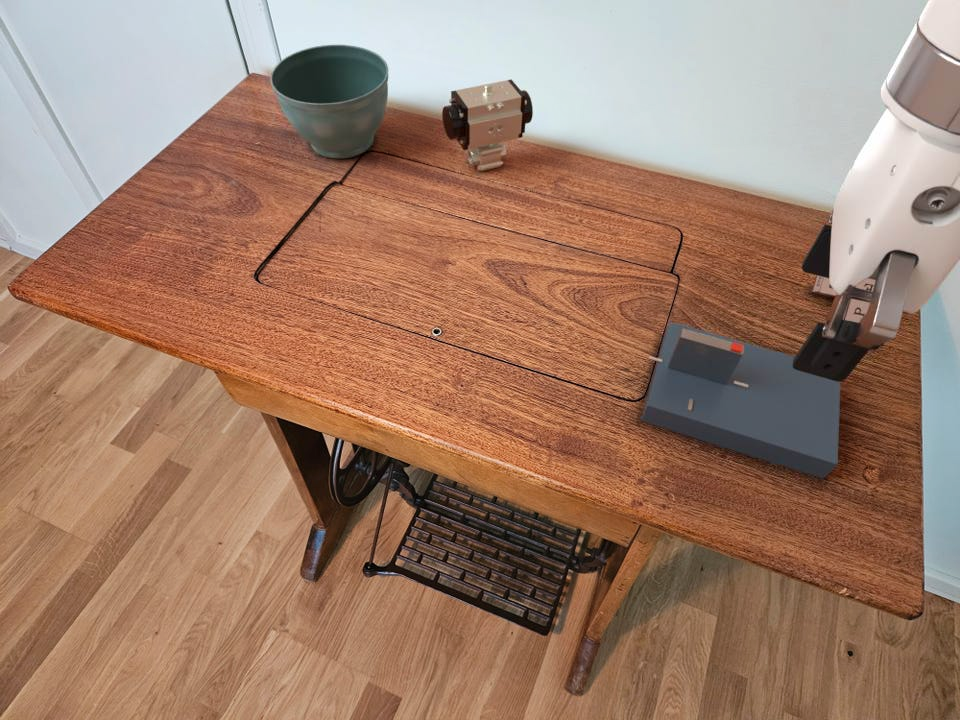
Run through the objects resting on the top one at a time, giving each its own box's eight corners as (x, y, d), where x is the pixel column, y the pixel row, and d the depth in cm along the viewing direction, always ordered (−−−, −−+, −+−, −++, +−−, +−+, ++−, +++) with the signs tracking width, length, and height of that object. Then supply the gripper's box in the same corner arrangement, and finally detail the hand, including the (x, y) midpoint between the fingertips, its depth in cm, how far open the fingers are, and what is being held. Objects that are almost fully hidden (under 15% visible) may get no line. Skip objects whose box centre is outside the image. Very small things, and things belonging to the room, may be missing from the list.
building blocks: (851, 323, 75) (871, 258, 74) (869, 325, 70) (891, 255, 69) (805, 313, 76) (824, 249, 75) (819, 315, 71) (840, 245, 70)
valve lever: (667, 367, 64) (681, 335, 60) (669, 359, 65) (683, 326, 61) (726, 385, 63) (743, 353, 59) (727, 376, 64) (745, 344, 60)
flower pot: (327, 188, 87) (312, 117, 79) (267, 139, 94) (247, 68, 86) (417, 144, 94) (411, 75, 85) (355, 102, 101) (344, 33, 93)
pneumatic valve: (443, 163, 91) (440, 84, 82) (516, 147, 94) (521, 69, 84) (456, 185, 88) (455, 106, 78) (531, 167, 91) (538, 89, 81)
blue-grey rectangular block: (828, 385, 67) (842, 368, 65) (823, 479, 60) (838, 463, 58) (653, 335, 71) (660, 317, 69) (630, 417, 64) (636, 400, 62)
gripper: (1112, 207, 24) (878, 437, 37) (1040, 19, 34) (876, 254, 47) (900, 163, 25) (750, 399, 39) (891, -4, 35) (774, 230, 49)
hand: (819, 320), depth 43 cm, fingers open, 9 cm apart
